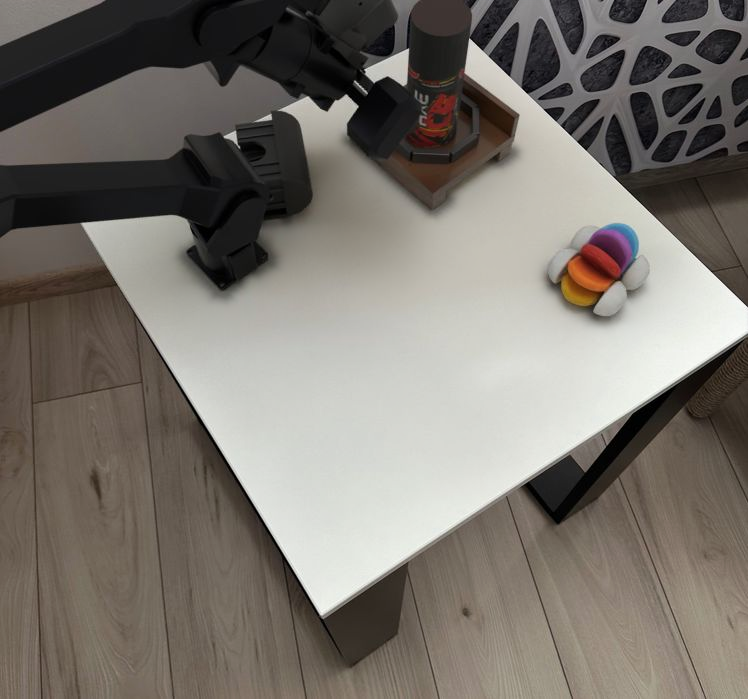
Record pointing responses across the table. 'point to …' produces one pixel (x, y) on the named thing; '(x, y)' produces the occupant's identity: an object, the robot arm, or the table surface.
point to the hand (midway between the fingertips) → (388, 100)
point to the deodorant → (437, 67)
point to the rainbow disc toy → (600, 267)
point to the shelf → (456, 146)
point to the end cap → (278, 162)
